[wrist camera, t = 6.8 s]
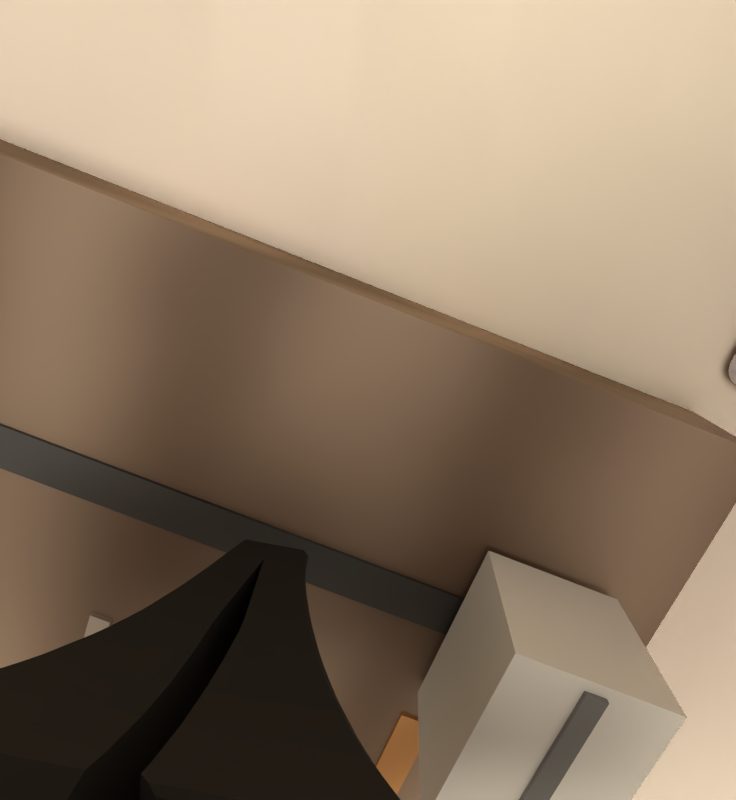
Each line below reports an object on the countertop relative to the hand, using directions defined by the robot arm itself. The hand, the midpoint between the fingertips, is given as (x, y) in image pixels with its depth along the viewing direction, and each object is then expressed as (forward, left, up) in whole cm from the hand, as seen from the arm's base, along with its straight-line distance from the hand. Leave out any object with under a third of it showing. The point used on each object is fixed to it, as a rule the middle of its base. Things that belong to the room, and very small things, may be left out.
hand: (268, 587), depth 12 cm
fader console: (+2, 0, -4) cm, 5 cm away
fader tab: (-6, 0, -1) cm, 6 cm away
